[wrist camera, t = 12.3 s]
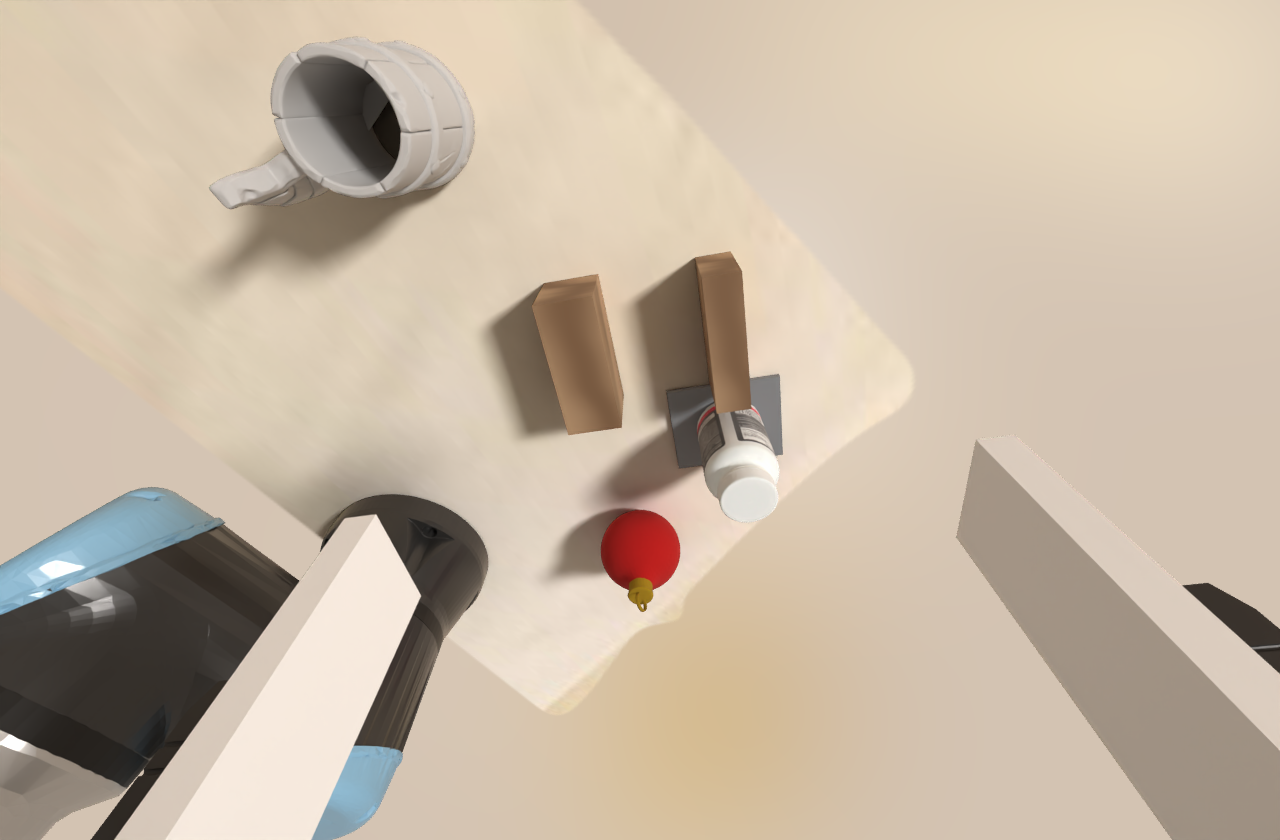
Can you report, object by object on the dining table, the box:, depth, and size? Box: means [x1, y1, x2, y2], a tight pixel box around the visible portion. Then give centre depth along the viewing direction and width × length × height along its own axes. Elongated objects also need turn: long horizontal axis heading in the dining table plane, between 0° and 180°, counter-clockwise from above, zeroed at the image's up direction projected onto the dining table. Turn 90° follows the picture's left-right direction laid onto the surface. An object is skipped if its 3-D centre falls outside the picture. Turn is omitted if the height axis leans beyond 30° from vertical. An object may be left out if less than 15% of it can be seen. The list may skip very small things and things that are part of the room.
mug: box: [209, 37, 475, 209], centre depth 28 cm, size 8×12×12 cm, turn 118°
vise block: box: [532, 252, 752, 435], centre depth 38 cm, size 14×10×5 cm
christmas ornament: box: [601, 510, 680, 612], centre depth 46 cm, size 7×7×10 cm
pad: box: [667, 374, 783, 468], centre depth 44 cm, size 9×8×1 cm
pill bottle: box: [697, 404, 779, 522], centre depth 40 cm, size 5×5×10 cm
